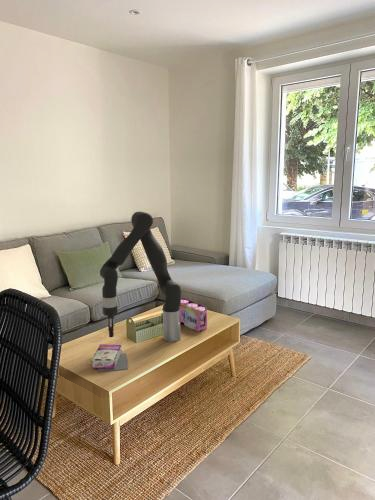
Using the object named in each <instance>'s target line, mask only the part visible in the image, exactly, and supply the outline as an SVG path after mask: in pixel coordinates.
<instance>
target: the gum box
mask: <svg viewBox="0 0 375 500" xmlns="http://www.w3.org/2000/svg"><path fill="white" fill-rule="evenodd" d="M179 322H180V324H181V322H183V323H184V325H183V326H186V327H187V328H189V329H192V330H193V329H194V330H193V331H195V330H196V331H195V332H197V331H198V332H200V330H201V331H203V330H206V329H208V307H207V306H205V305H203V304H200V303H197V302H195V301H192V300H190V299H188V298H186V297H181V304H180V307H179Z"/></svg>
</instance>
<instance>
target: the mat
mask: <svg viewBox="0 0 375 500" xmlns="http://www.w3.org/2000/svg"><path fill="white" fill-rule="evenodd" d="M123 370H125V371H126V370H129V366H128V357H127V352H126V353H125V352H123V353H121V355H120V357H119V360H118V362H117V364H116V367H115V369H110V368H97V372H98V373H105V372H113V371H123Z"/></svg>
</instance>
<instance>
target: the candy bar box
mask: <svg viewBox="0 0 375 500" xmlns="http://www.w3.org/2000/svg"><path fill="white" fill-rule="evenodd" d="M121 354H122V344H99V346H98V348H97V350H96V352H95V353H94V355H93V357H92V359H91V369H98V368H110V369H115V367H116V364H117V362H118V360H119V357H120V355H121Z"/></svg>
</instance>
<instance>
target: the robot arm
mask: <svg viewBox="0 0 375 500" xmlns="http://www.w3.org/2000/svg"><path fill="white" fill-rule="evenodd" d="M130 221H131V222H130V223H131V224H132V227H133V228H132V229H131V231H130V233H129V234H128V235H127V236H126V237H125V238H124V239H123V240H122V241H121V242H120V243H119V244H118V246H117V247H115V250H114V251H113V253H112V254H111V257H110V258H108V260H106V261H105V262H104V263H103V265H102V267H101V268H100V270H99V275H100V277H101V278H102V279H104V280H103V286H102V288H101V292H102V295H101V296H102V299H101V300H102V301H101V303H102V306H101V307H102V314H103V316H106V324H107V327H108V328H107V330H108V336H109V338H113V337H114V329H115V328H114V327H115V320H116V319H115V316H116V315H117V314H118V312H119V309H118V308H119V306H118V295H117V287H118V286H117V285H118V280H119V279H118V278H119V275H118V271H117V269H118V268H119V266H122V265H124V263H125V261H126V260H127V258H128V257H129V255H130V254H131V253H132V251H133V249H134V248H135V246H136V245H137V244H138V243H139V241H140V242H141V245H142V248H143V250H144V253H145V255H146V259H148V262H149V264H150V266H151V269H152V271H153V273H154V275H155V276H156V277H155V278H156V280H157V283H158V287H159V290H160V292H161V294H162V295H163V296H164V297H165V301H164V304H162V332H163V335H162V336H163V337H162V338H163V341H165V342H170V343H172V342H178V341H181V323H180V322H179V307H180V304H181V299H182V288H181V286H180V285H179V284H178V283H176V281H173V279H172V277H171V275H170V273H169V270H168V260H167V257H166V253H165V251H164V250H163V247H162V246H161V244H160V242H159V241H158V240H157V238H156V237H155V236H154V234H153V233H152V229H151V228H152V226H153V224H154V218H153V216H152V215H151V214H150V213H148V212H145V211H136V212H133V214H132V215H131V219H130Z"/></svg>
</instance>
